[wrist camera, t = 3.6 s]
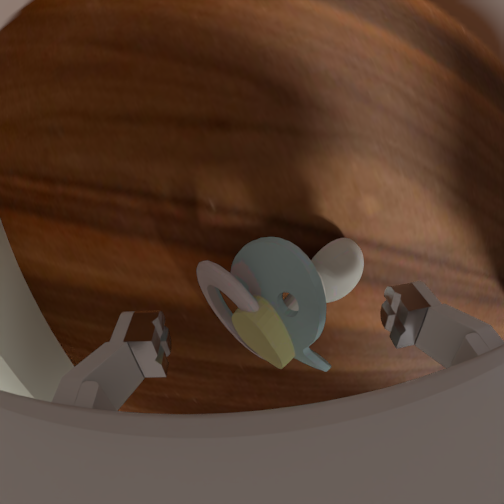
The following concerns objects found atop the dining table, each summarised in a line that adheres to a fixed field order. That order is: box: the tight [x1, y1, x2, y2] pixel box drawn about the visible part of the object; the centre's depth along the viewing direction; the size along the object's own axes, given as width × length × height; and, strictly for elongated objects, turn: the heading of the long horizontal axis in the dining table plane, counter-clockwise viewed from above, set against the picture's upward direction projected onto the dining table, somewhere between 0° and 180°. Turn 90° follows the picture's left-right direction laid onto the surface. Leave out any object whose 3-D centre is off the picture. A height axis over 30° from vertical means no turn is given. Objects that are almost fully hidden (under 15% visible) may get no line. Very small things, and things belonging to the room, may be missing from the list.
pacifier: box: [196, 237, 364, 372], centre depth 13 cm, size 7×6×6 cm
